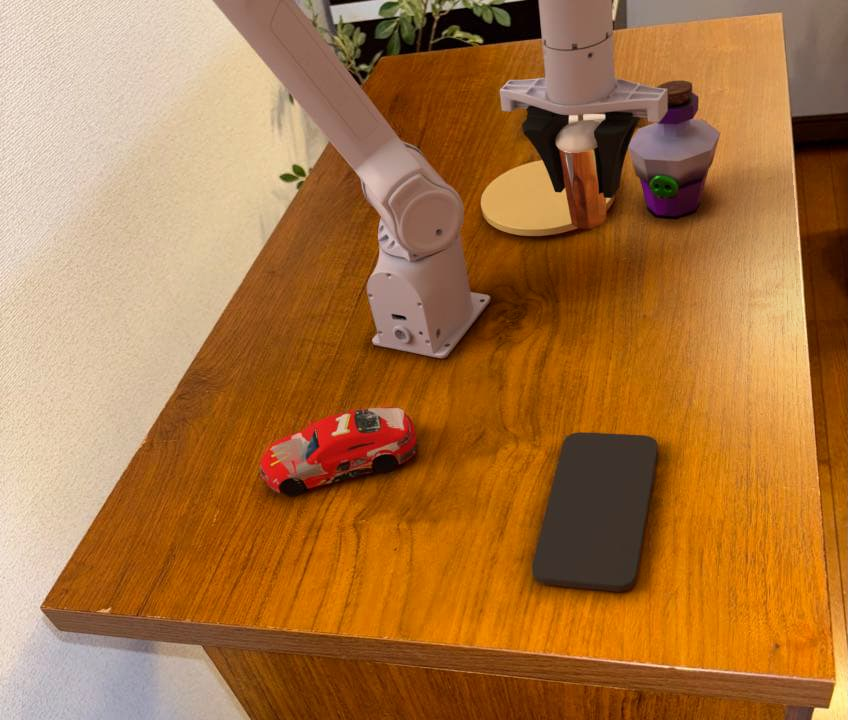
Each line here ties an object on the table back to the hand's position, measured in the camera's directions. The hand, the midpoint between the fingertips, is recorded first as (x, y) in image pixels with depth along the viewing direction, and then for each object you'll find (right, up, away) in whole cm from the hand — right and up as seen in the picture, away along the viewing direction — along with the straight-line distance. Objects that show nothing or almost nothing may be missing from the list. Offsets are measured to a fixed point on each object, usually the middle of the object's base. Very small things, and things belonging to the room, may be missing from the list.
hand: (587, 189), depth 89 cm
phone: (-2, -30, -16) cm, 34 cm away
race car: (-22, -26, -7) cm, 34 cm away
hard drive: (+4, +18, +25) cm, 31 cm away
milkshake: (+1, -2, +2) cm, 3 cm away
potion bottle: (+10, +2, +9) cm, 14 cm away
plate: (-2, +3, +14) cm, 14 cm away
